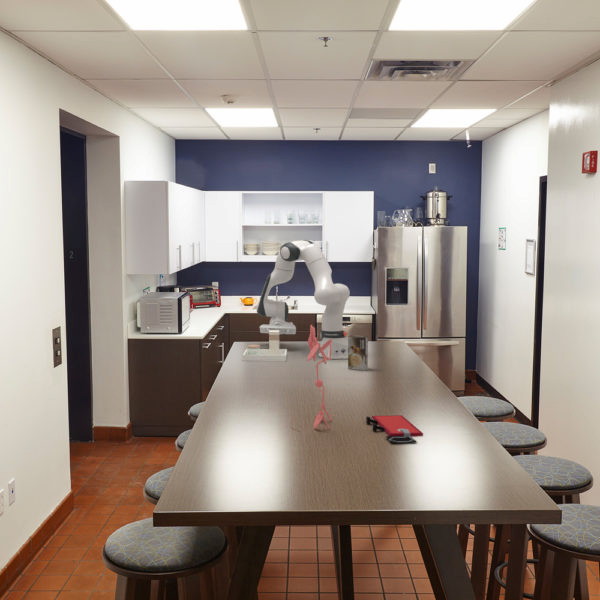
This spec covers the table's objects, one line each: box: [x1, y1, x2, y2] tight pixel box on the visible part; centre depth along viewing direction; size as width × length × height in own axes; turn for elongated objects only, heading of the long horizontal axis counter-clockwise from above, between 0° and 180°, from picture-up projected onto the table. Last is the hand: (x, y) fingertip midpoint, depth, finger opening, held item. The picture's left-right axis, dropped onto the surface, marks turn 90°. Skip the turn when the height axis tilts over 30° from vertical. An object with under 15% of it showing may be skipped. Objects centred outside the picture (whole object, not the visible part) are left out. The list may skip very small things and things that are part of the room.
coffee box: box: [347, 334, 369, 371], centre depth 323 cm, size 9×6×16 cm
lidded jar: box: [247, 343, 261, 355], centre depth 342 cm, size 6×6×7 cm
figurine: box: [291, 324, 336, 433], centre depth 228 cm, size 15×26×35 cm, turn 173°
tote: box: [242, 348, 288, 362], centre depth 344 cm, size 22×18×4 cm
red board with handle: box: [365, 414, 424, 443], centre depth 224 cm, size 30×3×15 cm
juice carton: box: [268, 330, 280, 355], centre depth 344 cm, size 5×5×14 cm
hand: (278, 332), depth 363 cm, fingers open, 8 cm apart
